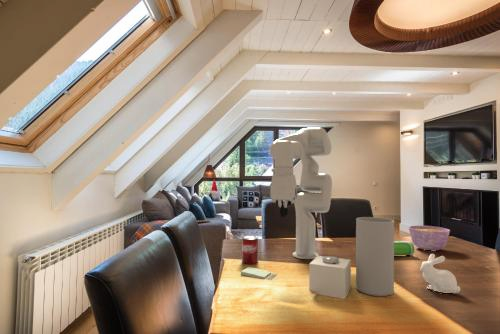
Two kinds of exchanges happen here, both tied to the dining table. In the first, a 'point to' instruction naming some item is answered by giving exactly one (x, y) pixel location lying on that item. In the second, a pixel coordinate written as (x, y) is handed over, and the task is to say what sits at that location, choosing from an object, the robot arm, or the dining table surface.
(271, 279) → the hinge foot
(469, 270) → the dining table surface
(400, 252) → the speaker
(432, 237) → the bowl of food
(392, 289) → the cylinder vase
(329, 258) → the silver knob
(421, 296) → the dining table surface
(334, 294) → the hitch block
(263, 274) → the plate
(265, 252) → the dining table surface
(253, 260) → the soda can
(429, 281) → the rabbit
